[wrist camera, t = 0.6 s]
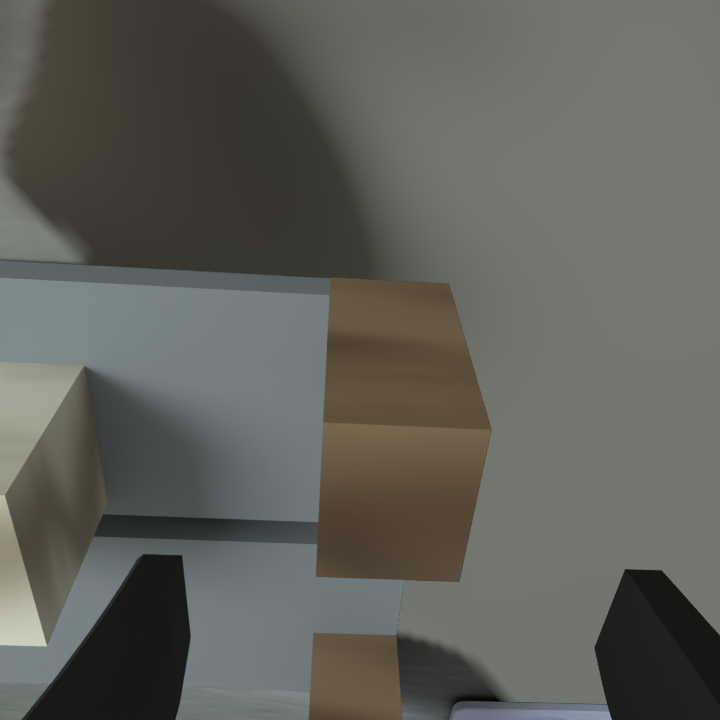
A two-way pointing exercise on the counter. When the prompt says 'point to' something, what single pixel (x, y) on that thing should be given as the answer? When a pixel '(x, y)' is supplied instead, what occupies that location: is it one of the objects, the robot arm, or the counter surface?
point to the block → (44, 494)
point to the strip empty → (244, 613)
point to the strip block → (272, 402)
